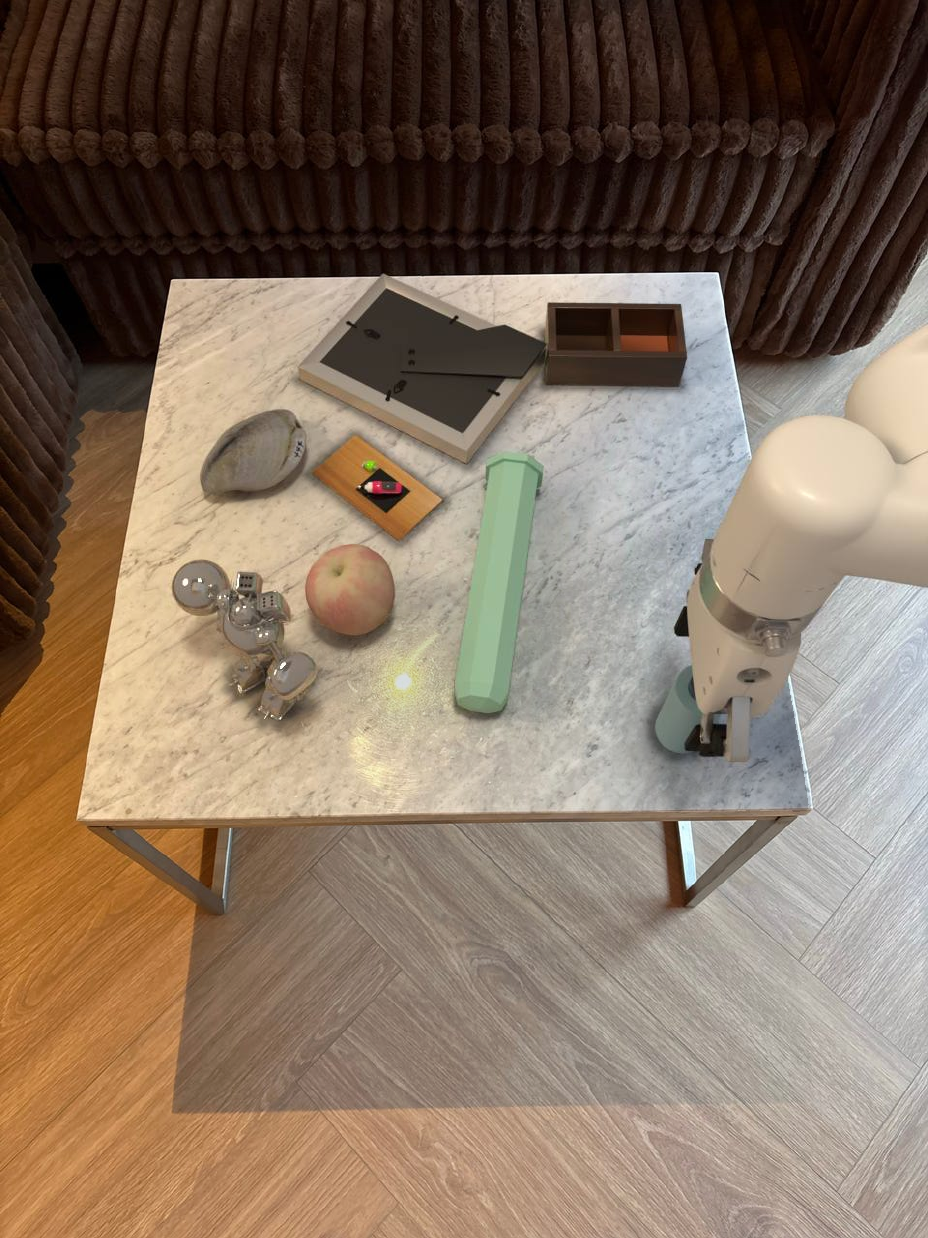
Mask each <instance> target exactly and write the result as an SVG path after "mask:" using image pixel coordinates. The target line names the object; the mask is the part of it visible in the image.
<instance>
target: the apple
mask: <svg viewBox="0 0 928 1238" xmlns="http://www.w3.org/2000/svg"><path fill="white" fill-rule="evenodd" d="M395 586H396V585H395V580H394V577H393V572H392V570H391V568H390V565H389V564H388V562H387V561H386V560H385V559H384V557H383V556H382V555H381V554H379V552H377V551H375V550H374V549H372V548H370V547H368V546H366V545H363V544H358V543H349V544H343V545H339V546H336V547H333V548H332V549H329V550H327V551H325V553H323V554H321V556H319V557H318V558H317V559H316V561H314V563H313V564H312V565H311V567H310V569H309V571H308V574H307V576H306V579H305V585H304V594H305V600H306V603H307V605H308V608H309V610H310V613H311V614H312V615H313V616H314V617H315V619H317V620H318V621H319V623H320V624H322V625H323V626H324V627H325V628H328V629H330V630H331V631H333V632H336V633H339V634H343V635H348V636H360V635H363V634H367V633H370V632H371V631H373V630H375V629H376V628H378V627H379V626H380V625H381V624H382V623H384V622H385V621H386V620H387V619H388V618H389V616H390V615H391V613H392V611H393V608H394V604H395V599H396V587H395Z"/></svg>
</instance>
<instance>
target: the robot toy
mask: <svg viewBox="0 0 928 1238" xmlns="http://www.w3.org/2000/svg"><path fill="white" fill-rule="evenodd" d="M235 581H236V582H235ZM235 581H233V583H232V579H229V575H228V574H227V572H226V571H225V569H224V568H223V567H222V566H220V565H219V564H218V563H217V562H215V561H212V560H209V559H193V560H190V561H188V562H186V563H184V564H183V565H181V566H180V568H179V569H177V571H176V573H175V574H174V576H173V578H172V583H171V593H172V597H173V599H174V601H175V603H176V604H177V605H178V607H180V609H181V610H183V611H184V612H185V613H187V614H189V615H191V616H195V617H208V616H211V615H215V614H216V615H217V619H218V620H217V622H216V631H217V632H218V634H222V636H223V639H224V641H225V643H226V645H227V646H228V648H229V649H230V650H231V651H232V652H233V653H234V654H236V655H237V656H239V657H240V660H239V661H238V662H237V663H236V664H235V666H234V668H233V672H232V674H231V675H232V676H231V677H229V679H230V680H233V682H232V683H231V684H229V686H230V687H231V686H235V685H236V687H237V690H238V692H239V694H241V695H243V694H246V693H247V692H248V691H250V690H252V689H253V688H255V687H256V686H259V685H260V684H262V683H263V682H264V685H265V689H264V692H263V694H262V696H261V699H260V705H259V707H258V708H257V710H258V711H259V712H261V713H263V714H264V715H265V716H264V718H263V720H266V719H267V718H268V717H270V718H272V719H273V720H275V721H281V720H282V719H283V718H284V716H285V715H286V714H287V713H288V712H289V711H290V710H291V709H292V707H293V706H294V705H295V703H296V702H297V701H298V702H299V701H300V700H301V701H302V700H303V698H305V697H306V696H305V695H306V694H308V691H309V686H310V685H311V684H313V682H314V681H315V680H316V678H317V676H318V665H317V664H316V662H315V661H314V659H313V658H312V657H311V656H310V655H308V654H307V653H305V652H302V651H296V652H292V653H288V652H287V651H284V649H283V648H282V645H283V643H284V640H285V635H286V634H285V633H286V631H285V624H286V623H290V622H291V620H292V618H291V617H292V616H291V615H292V613H291V608H290V606H289V603H288V602H287V599H286V598H285V596H284V595H283V594H282V593H280V592H278V591H277V590H268V591H265V592H263V586H264V581H263V578H262V576H261V574H260V573H258V572H253V571H237V574H236V580H235ZM234 586H235V587H234ZM240 596H243V597H241V598H240ZM264 668H265V669H266V670H267V672H265V670H264Z"/></svg>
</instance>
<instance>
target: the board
mask: <svg viewBox="0 0 928 1238" xmlns="http://www.w3.org/2000/svg"><path fill="white" fill-rule="evenodd" d="M311 474H312V475H313V476H315V477H316V478H317V479H318V480H319V481H321V482H322V483H323V484H325V485H326V486H327V487H328V488H330V489H331V490H332V491H333V492H335V493H336V494H337V495H338V496H340V497H341V498H342V499H344V500H345V501H346V502H347V503H349V504H350V505H352V506H353V507H354V508H356V510H358V511H359V512H361V514H363V515H364V516H366V517H367V519H369V520H371V521H372V522H373V523H375V524H376V525H377V526H379V527H380V528H381V529H382V530H384V531H385V532H386V533H387V534H389V535H390V536H391V537H393V538H394V539H395V540H397V541H398V542H400V541H401V540H402V539H403V538H404V537H405V536H407V534H409V533H410V531H412V530H413V529H414V528H415V527H416V526H417V525H418V524H419V523H421V522H422V521H423V520H424V519H425V518H426V517H427V516H428V515H429V514H431V512H432V511H434V510H435V509H436V508H437V507H438V506H439V505H440V504H441V503H442V502H443V501H444V499H442V497H440V496H439V495H437V494H436V493H435V492H433V491H432V490H430V488H428V487H427V486H425V484H423V483H421V482H420V481H419V480H417V478H414V477H413V476H412V475H410V474H409V473H408V472H406V470H404V469H402V468H401V467H400V466H399V465H397V464H396V463H395V462H393V461H392V460H391V459H389V458H388V457H387V456H385V455H384V454H383V453H381V452H380V451H378V450H377V449H376V448H374V446H372V445H370V444H369V443H368V442H366V441H365V440H364V439H362V438H361V437H360V436H358V435H357V434H355V435H353V436H352V437H351V438H350V439H349V440H348V441H347V442H345V443H344V444H343V445H342V446H341V447H339V448H338V449H337V450H336V451H334V453H332V454H331V455H330V456H329V457H328V458H326V460H324V461H323V462H322V463H320V464H319V465H318V466H317V467H316V468H314V469H313V471H311Z"/></svg>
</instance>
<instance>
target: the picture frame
mask: <svg viewBox="0 0 928 1238" xmlns="http://www.w3.org/2000/svg"><path fill="white" fill-rule="evenodd" d="M546 344H547V343H545V341H543V340H540V339H538V338H536V337H534V336H532V335H529V334H527V333H525V332H523V331H520V330H519V329H516V328H513V327H512V326H510V325H508V324H501V325H500V324H499V325H496V324H494V323H492V322H489V321H487V320H485V319H483V318H481V317H478V316H476V315H474V314H472V313H470V312H467V311H465V310H463V309H461V308H459V307H457V306H454V305H452V304H450V303H448V302H446V301H443V300H442V299H439V298H437V297H435V296H433V295H430V294H429V293H426V292H425V291H422V290H420V289H418V288H416V287H413V286H411V285H409V284H407V283H405V282H402V281H400V280H398V279H396V278H394V277H391V276H390V275H387V274H385V273H382V274H381V275H379V277H378V278H377V279H376V280H375V281H374V282H373V284H371V286H369V288H368V289H367V290H366V291H365V292H364V293H363V294H362V296H361V297H359V299H358V300H357V301H356V302H355V303H354V304H353V305H352V307H350V308H349V310H348V311H347V312H346V313H345V314H344V315H343V316H342V317H341V319H340V320H339V321H338V322H337V323H336V324H335V325H334V326H333V327H332V328H331V329H330V330H329V331H328V333H327V334H326V335H325V336H324V337H323V338H322V339H321V340H320V341H319V342H318V344H317V345H316V346H315V347H314V348H313V349H312V350H311V351H310V352H309V353H308V355H307V356H306V357H305V358H304V359H303V360H302V361H301V362H300V363H299V364H298V366H297V370H298V374H299V379H300V381H302V382H304V383H306V384H308V385H310V386H312V387H314V388H316V389H318V390H320V391H322V392H324V393H326V394H328V395H329V396H331V397H334V398H335V399H338V400H340V401H342V402H344V403H345V404H347V405H349V406H352V407H354V408H356V409H357V410H359V411H361V412H363V413H365V414H368V415H369V416H372V417H373V418H375V419H376V420H378V421H379V420H380V421H381V422H383V423H385V424H387V425H389V426H391V427H393V428H395V429H396V430H398V431H401V432H403V433H404V434H407V435H409V436H410V437H412V438H415V439H417V440H419V441H421V442H423V443H425V444H427V445H428V446H431V447H432V448H434V449H436V450H438V451H440V452H442V453H443V454H446V455H448V456H450V457H452V458H454V459H456V460H458V461H460V462H462V463H465V465H468V463H469V462H470V461H471V459H473V457H474V456H475V454H476V453H477V451H478V450H479V449H480V448H481V446H482V445H483V443H484V442H485V441H486V440H487V438H488V437H489V436H490V434H491V433H493V431H494V429H495V428H496V426H497V425H498V424H499V422H500V421H502V419H503V417H504V416H505V415H506V413H507V412H508V411H509V410H510V408H511V407H512V406H513V404H514V403H515V402H516V401H517V399H518V398H519V397H520V395H521V394H522V393H523V392H524V390H525V388H526V387H528V385H529V384H530V383H531V381H532V380H533V378H534V377H535V376H536V374H537V373H538V372H539V370H540V369H541V368H542V366H543V365H545V354H546V348H545V346H546Z"/></svg>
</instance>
